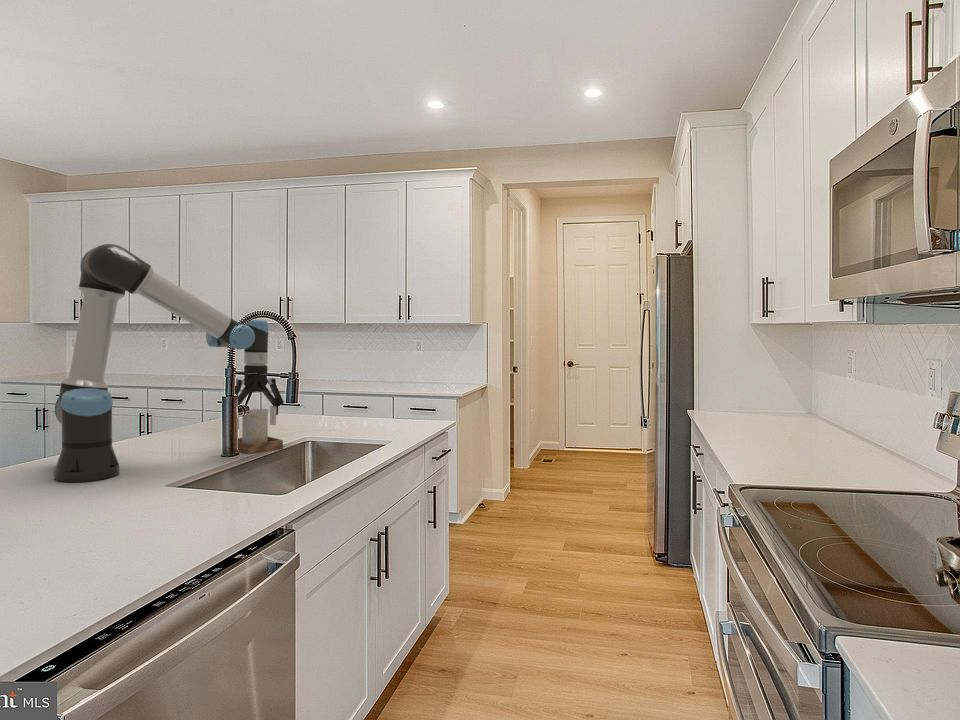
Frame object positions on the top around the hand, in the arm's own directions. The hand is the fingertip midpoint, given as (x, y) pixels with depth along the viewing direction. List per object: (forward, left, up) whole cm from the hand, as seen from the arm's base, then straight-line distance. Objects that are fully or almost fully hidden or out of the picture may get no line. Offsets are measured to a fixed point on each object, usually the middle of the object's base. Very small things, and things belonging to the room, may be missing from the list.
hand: (254, 426), depth 212 cm
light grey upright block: (0, 0, -6) cm, 6 cm away
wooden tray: (0, 0, -7) cm, 8 cm away
